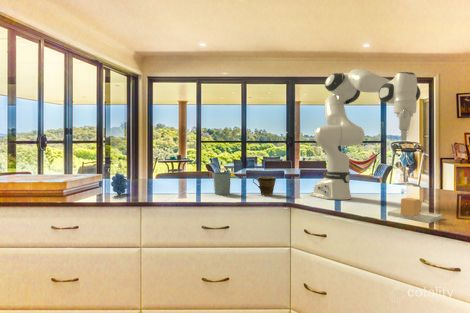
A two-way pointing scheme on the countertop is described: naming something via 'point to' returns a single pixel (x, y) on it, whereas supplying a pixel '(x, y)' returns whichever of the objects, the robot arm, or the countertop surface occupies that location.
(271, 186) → the ceramic cup
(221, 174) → the grey green pot
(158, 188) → the countertop surface
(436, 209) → the countertop surface
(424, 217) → the plate
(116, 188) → the grapes
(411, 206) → the orange-brown wooden block
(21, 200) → the countertop surface
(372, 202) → the countertop surface
